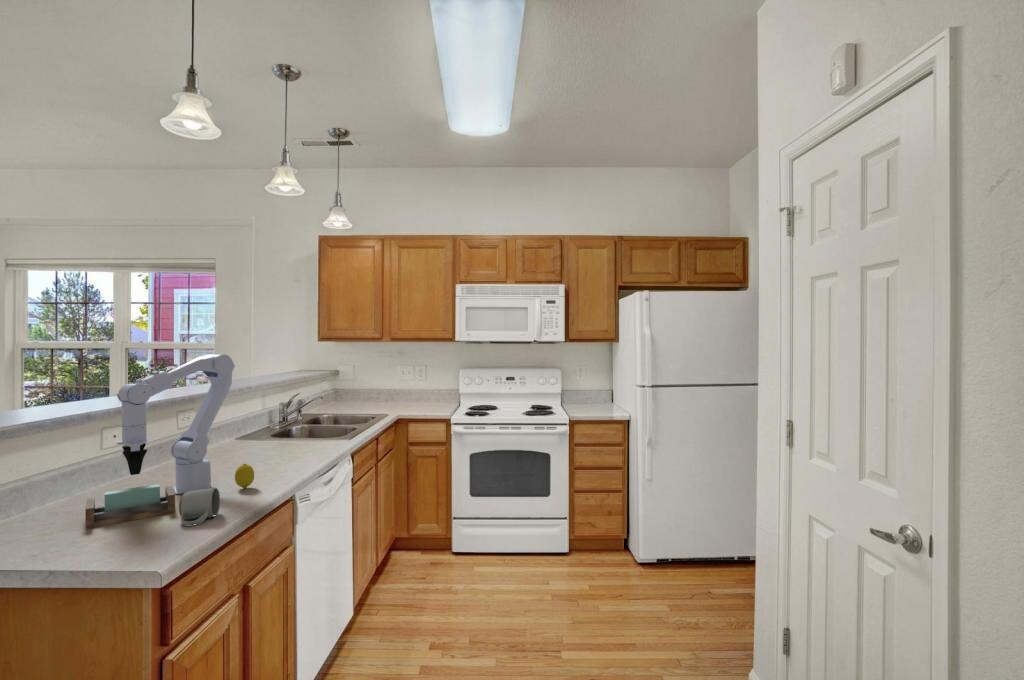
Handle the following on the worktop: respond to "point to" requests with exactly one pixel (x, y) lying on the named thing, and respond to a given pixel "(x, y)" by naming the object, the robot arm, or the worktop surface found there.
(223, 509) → the worktop surface
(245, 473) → the lemon
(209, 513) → the ceramic mug
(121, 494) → the long teal rectangular block
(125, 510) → the track board
